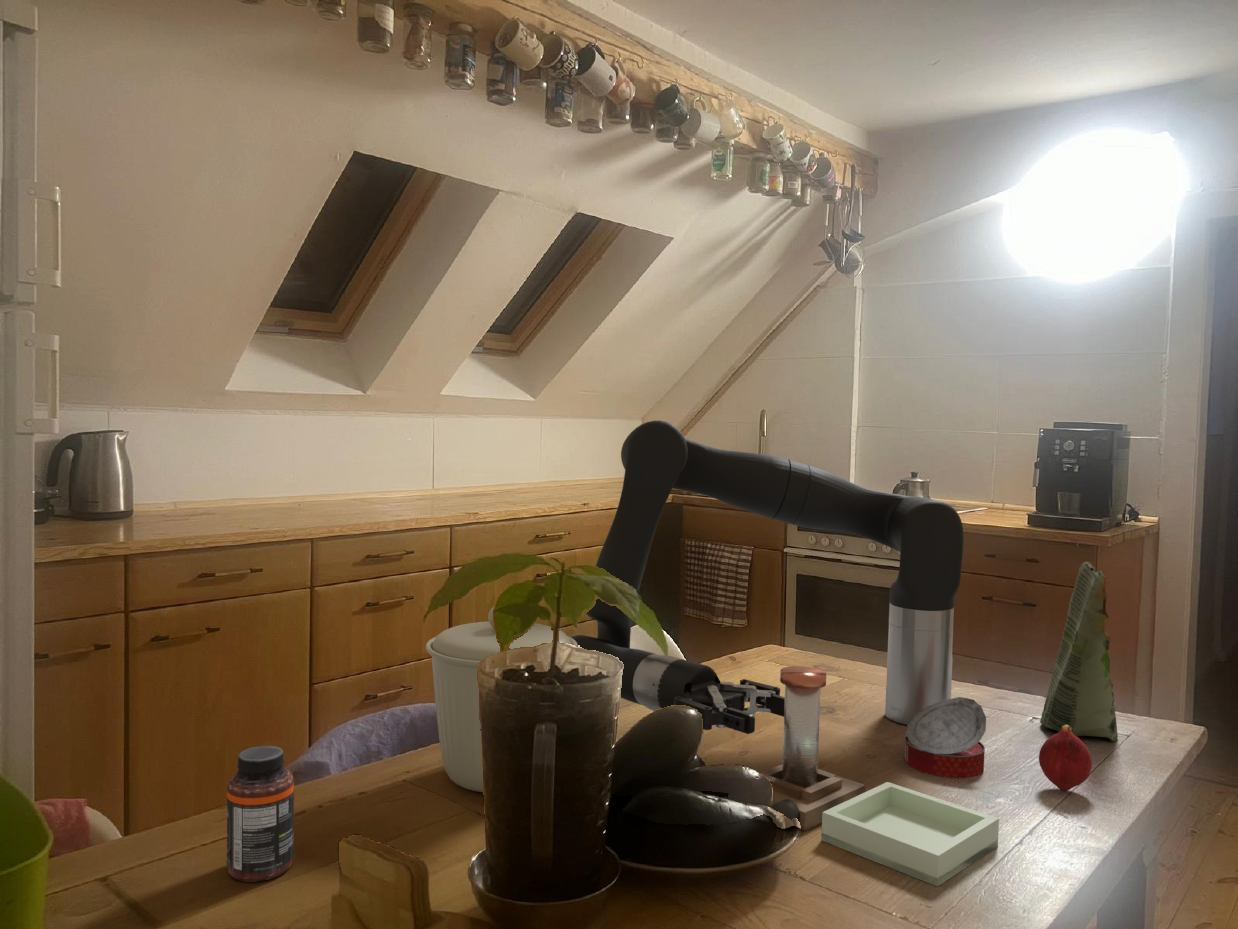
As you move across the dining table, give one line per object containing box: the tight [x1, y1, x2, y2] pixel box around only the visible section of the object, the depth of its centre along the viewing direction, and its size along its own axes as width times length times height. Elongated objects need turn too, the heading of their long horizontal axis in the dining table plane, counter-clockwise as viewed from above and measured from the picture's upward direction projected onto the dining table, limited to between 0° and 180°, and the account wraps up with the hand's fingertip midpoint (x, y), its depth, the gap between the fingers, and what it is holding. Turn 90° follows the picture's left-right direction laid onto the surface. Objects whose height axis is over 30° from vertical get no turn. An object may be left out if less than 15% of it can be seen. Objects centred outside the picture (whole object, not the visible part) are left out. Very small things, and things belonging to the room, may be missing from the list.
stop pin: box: [779, 665, 827, 788], centre depth 108 cm, size 5×5×13 cm
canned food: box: [903, 696, 987, 779], centre depth 122 cm, size 11×10×10 cm
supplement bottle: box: [226, 745, 295, 882], centre depth 88 cm, size 6×6×11 cm
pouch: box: [1039, 561, 1119, 742], centre depth 135 cm, size 11×12×25 cm
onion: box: [1038, 725, 1093, 792], centre depth 113 cm, size 6×6×8 cm
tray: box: [821, 781, 1000, 887], centre depth 98 cm, size 13×13×3 cm
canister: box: [425, 606, 578, 793], centre depth 113 cm, size 18×18×21 cm
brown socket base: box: [760, 764, 866, 832], centre depth 107 cm, size 14×10×3 cm
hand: (775, 717), depth 110 cm, fingers open, 8 cm apart
